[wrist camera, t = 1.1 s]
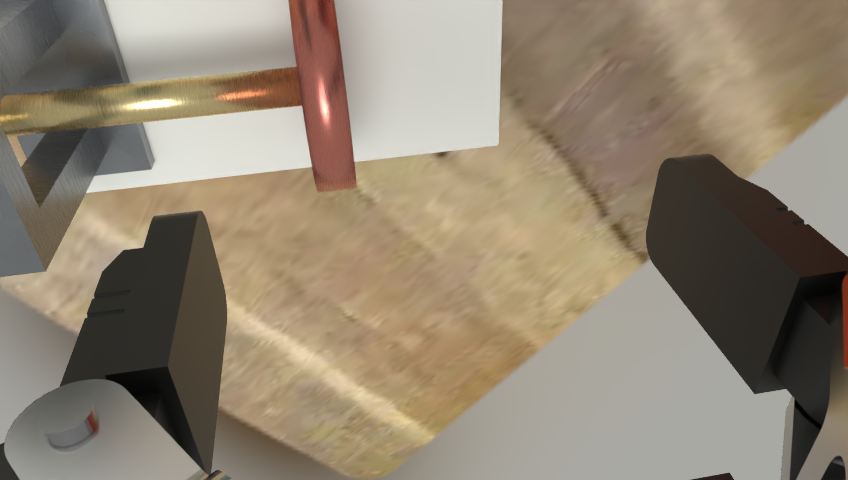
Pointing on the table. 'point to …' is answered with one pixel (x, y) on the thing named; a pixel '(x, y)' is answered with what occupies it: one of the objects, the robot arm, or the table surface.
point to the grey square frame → (64, 150)
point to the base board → (273, 48)
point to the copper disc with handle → (221, 98)
